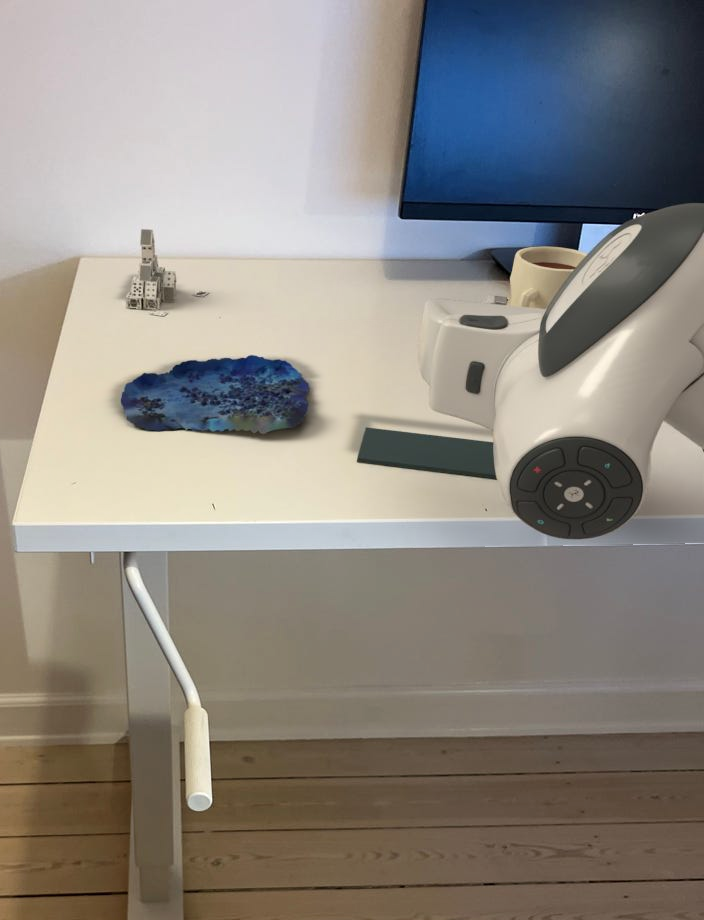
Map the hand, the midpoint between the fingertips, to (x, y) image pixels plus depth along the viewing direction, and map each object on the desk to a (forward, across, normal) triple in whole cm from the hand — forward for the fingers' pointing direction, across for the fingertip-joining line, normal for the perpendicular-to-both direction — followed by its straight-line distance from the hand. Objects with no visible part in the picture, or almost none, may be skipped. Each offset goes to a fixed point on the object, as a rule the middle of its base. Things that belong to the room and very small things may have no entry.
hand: (557, 311), depth 77 cm
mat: (-2, +7, +12) cm, 14 cm away
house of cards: (+28, +40, +13) cm, 50 cm away
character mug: (+12, 0, +13) cm, 18 cm away
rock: (+3, +28, +13) cm, 31 cm away
